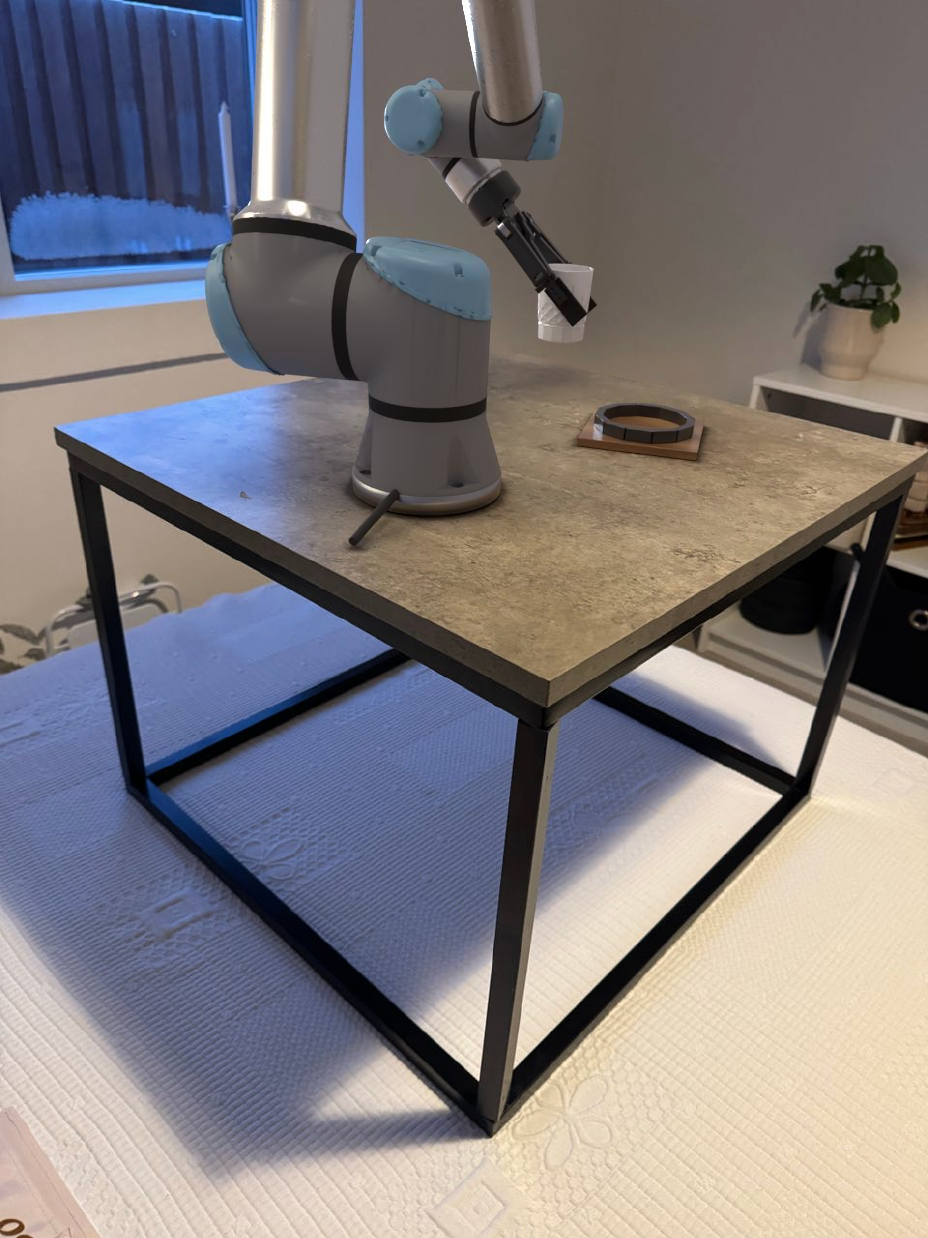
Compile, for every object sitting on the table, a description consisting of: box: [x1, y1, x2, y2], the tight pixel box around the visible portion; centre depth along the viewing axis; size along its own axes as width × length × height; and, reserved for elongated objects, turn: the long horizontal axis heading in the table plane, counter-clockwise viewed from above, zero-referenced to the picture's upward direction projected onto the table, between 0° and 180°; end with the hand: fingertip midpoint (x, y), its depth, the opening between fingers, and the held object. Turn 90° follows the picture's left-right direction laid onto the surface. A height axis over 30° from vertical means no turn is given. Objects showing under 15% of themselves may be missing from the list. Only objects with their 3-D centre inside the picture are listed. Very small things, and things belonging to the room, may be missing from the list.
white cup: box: [537, 263, 595, 344], centre depth 126 cm, size 8×8×10 cm
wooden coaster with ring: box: [576, 402, 705, 461], centre depth 106 cm, size 14×14×2 cm
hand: (585, 315), depth 126 cm, fingers closed on white cup, 8 cm apart
